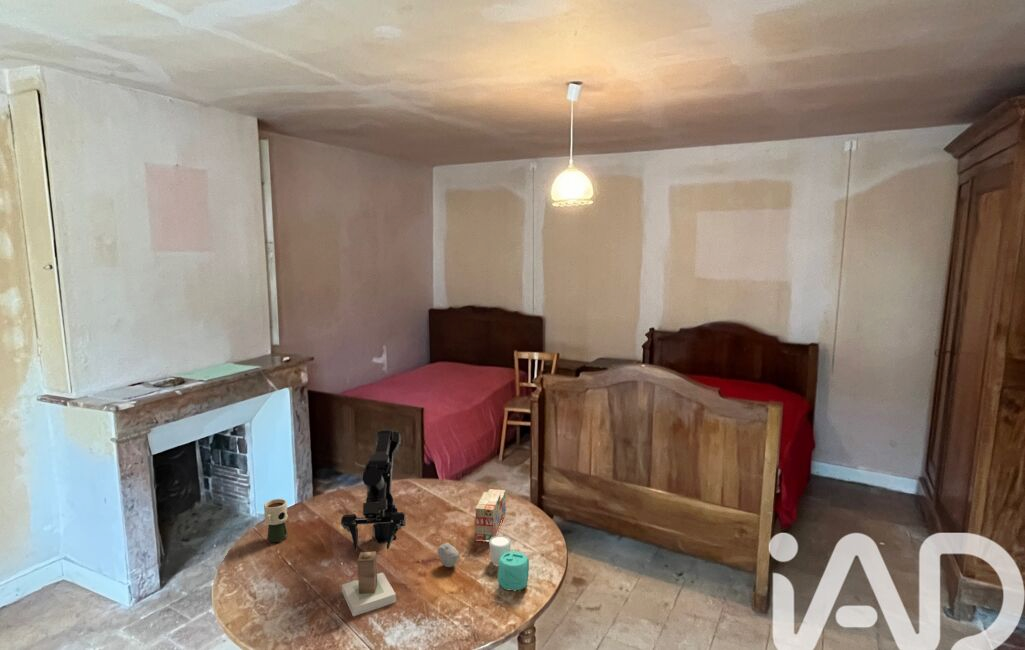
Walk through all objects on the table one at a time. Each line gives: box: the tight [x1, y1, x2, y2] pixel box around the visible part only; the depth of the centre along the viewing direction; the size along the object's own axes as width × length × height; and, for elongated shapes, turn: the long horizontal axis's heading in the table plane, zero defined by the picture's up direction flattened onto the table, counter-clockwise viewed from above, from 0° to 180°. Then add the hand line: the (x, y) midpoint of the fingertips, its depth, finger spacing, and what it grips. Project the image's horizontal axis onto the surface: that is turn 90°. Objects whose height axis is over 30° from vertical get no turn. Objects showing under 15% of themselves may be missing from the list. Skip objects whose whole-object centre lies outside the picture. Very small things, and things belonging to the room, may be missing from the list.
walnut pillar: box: [357, 550, 378, 594], centre depth 157 cm, size 4×4×10 cm
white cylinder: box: [488, 535, 512, 565], centre depth 175 cm, size 7×7×7 cm
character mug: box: [263, 498, 289, 543], centre depth 188 cm, size 11×7×13 cm, turn 175°
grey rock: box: [437, 542, 460, 568], centre depth 173 cm, size 6×7×7 cm
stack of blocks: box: [474, 488, 507, 541], centre depth 197 cm, size 21×6×12 cm, turn 169°
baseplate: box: [341, 572, 397, 617], centre depth 158 cm, size 12×12×3 cm
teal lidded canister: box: [497, 550, 530, 591], centre depth 164 cm, size 8×8×8 cm
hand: (371, 550), depth 164 cm, fingers open, 9 cm apart
